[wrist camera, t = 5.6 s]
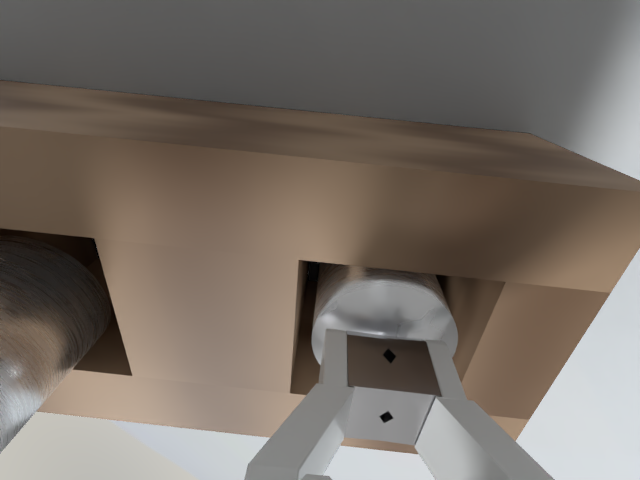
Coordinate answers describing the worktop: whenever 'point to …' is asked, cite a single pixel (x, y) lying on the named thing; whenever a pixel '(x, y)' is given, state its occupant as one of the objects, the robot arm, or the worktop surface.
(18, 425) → the steel peg
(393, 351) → the robot arm
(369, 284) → the steel peg
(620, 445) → the worktop surface
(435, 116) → the worktop surface
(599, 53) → the worktop surface
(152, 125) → the walnut block
